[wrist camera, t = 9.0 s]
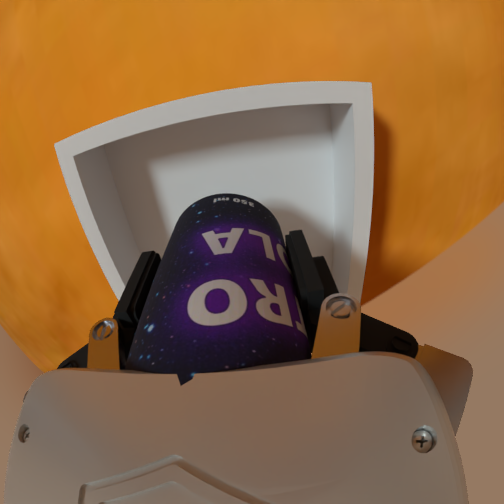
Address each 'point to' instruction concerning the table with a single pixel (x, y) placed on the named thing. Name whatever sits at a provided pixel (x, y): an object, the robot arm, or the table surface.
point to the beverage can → (221, 295)
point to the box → (230, 170)
